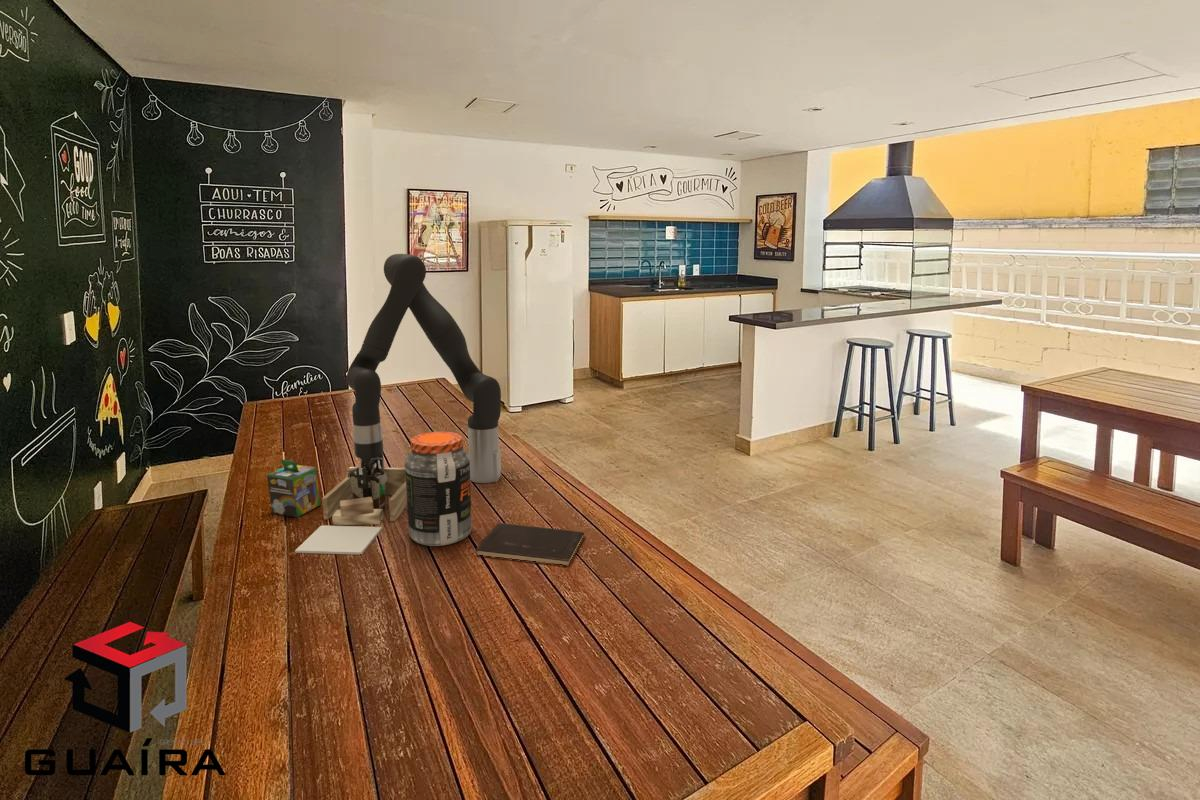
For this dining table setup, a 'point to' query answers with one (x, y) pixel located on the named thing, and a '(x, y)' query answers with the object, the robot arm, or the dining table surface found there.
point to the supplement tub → (438, 489)
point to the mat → (339, 540)
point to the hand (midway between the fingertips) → (372, 494)
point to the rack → (392, 487)
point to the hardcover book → (531, 543)
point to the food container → (376, 487)
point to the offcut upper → (356, 506)
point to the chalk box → (293, 489)
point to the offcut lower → (358, 518)
